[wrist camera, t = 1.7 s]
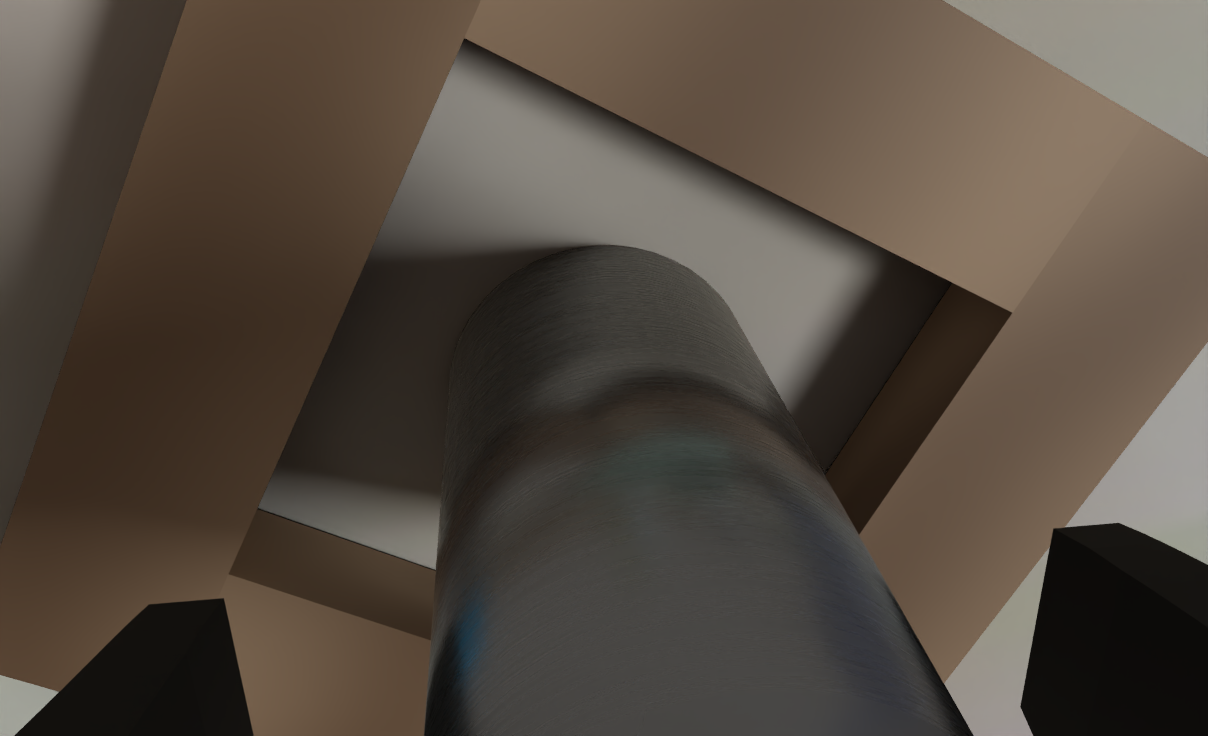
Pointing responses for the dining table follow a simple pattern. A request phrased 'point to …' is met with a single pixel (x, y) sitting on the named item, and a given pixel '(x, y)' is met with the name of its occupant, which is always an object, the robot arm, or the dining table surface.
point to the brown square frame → (685, 117)
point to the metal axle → (649, 530)
